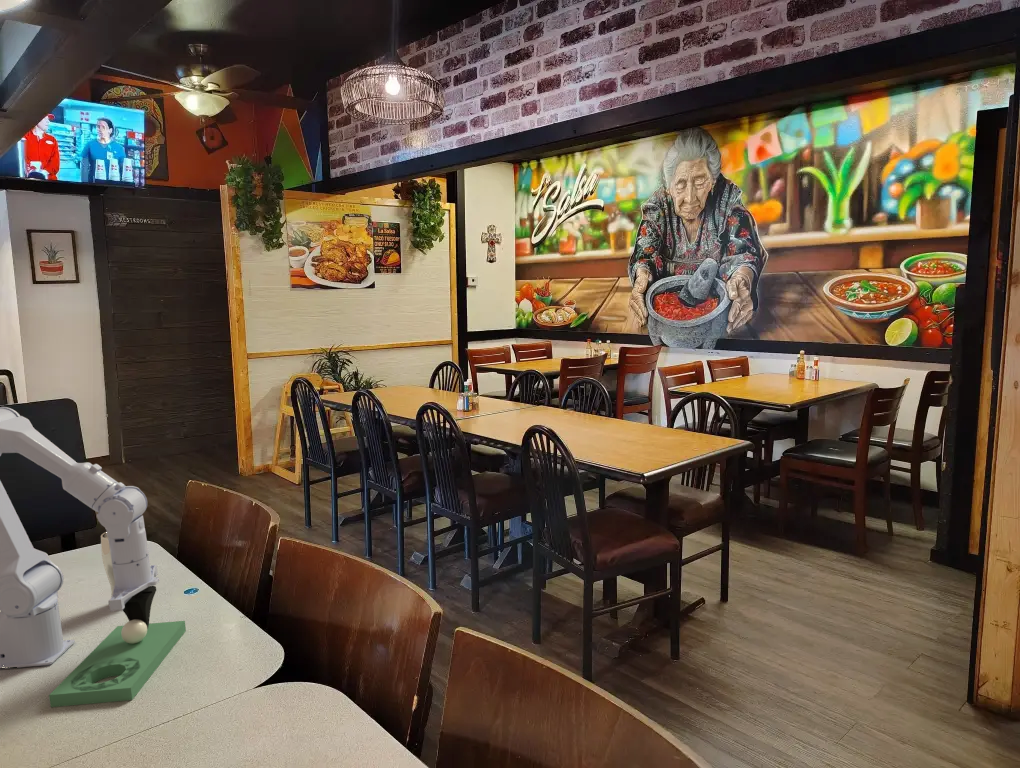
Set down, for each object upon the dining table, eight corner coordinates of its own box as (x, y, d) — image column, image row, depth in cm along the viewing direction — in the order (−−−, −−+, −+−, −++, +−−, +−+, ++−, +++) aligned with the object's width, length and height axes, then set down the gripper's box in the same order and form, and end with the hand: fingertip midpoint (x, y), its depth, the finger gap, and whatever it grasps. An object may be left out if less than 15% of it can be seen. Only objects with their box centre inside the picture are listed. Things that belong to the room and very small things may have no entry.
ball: (120, 648, 119) (115, 633, 117) (129, 629, 122) (124, 614, 120) (144, 648, 119) (139, 633, 117) (152, 629, 123) (148, 614, 121)
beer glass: (130, 611, 137) (121, 539, 135) (100, 609, 138) (91, 538, 136) (154, 595, 144) (146, 527, 142) (125, 594, 145) (117, 526, 143)
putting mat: (50, 707, 105) (48, 695, 105) (118, 636, 127) (117, 626, 126) (132, 699, 106) (130, 687, 106) (185, 630, 128) (184, 620, 127)
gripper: (136, 572, 113) (147, 649, 115) (170, 540, 127) (179, 609, 129) (91, 576, 112) (103, 653, 114) (130, 544, 127) (140, 613, 129)
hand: (141, 630), depth 122 cm, fingers closed, pressing on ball
